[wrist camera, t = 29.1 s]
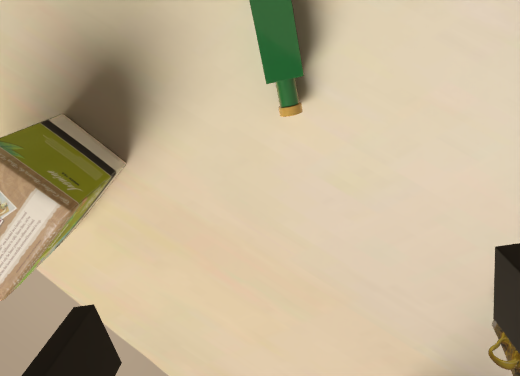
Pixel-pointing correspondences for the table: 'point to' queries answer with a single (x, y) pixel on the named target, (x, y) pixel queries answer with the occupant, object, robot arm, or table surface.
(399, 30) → the table surface
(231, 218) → the table surface
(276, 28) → the bottle
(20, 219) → the tea box
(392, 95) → the table surface
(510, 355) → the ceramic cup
